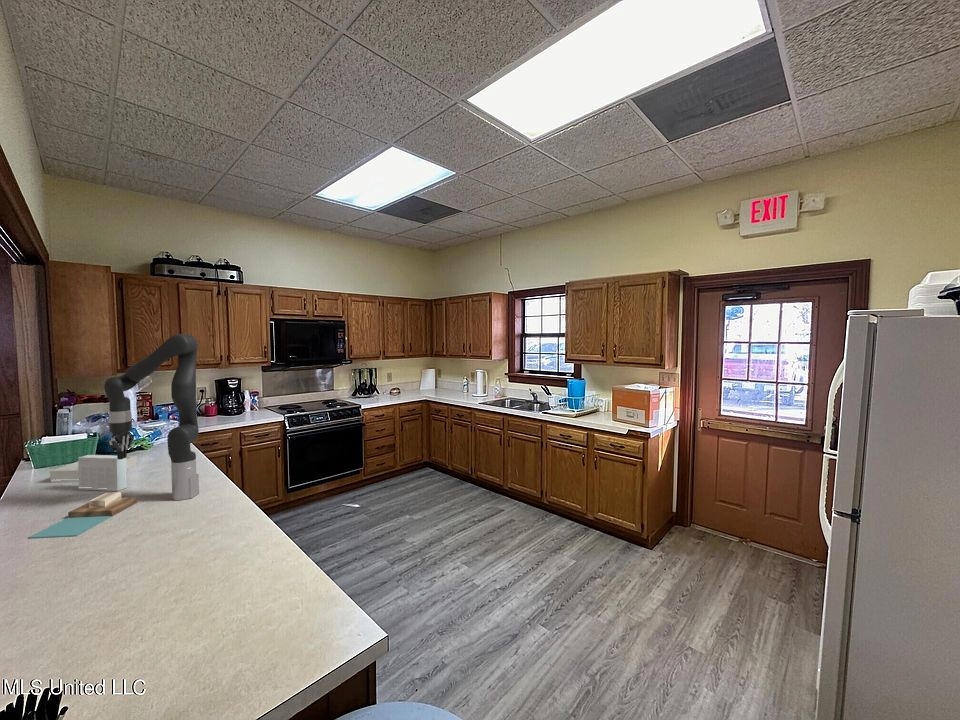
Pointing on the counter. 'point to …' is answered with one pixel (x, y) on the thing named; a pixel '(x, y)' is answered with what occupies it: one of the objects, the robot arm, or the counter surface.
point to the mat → (70, 527)
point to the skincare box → (102, 472)
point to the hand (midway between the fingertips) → (122, 458)
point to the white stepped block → (72, 470)
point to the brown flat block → (102, 509)
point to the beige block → (105, 500)
